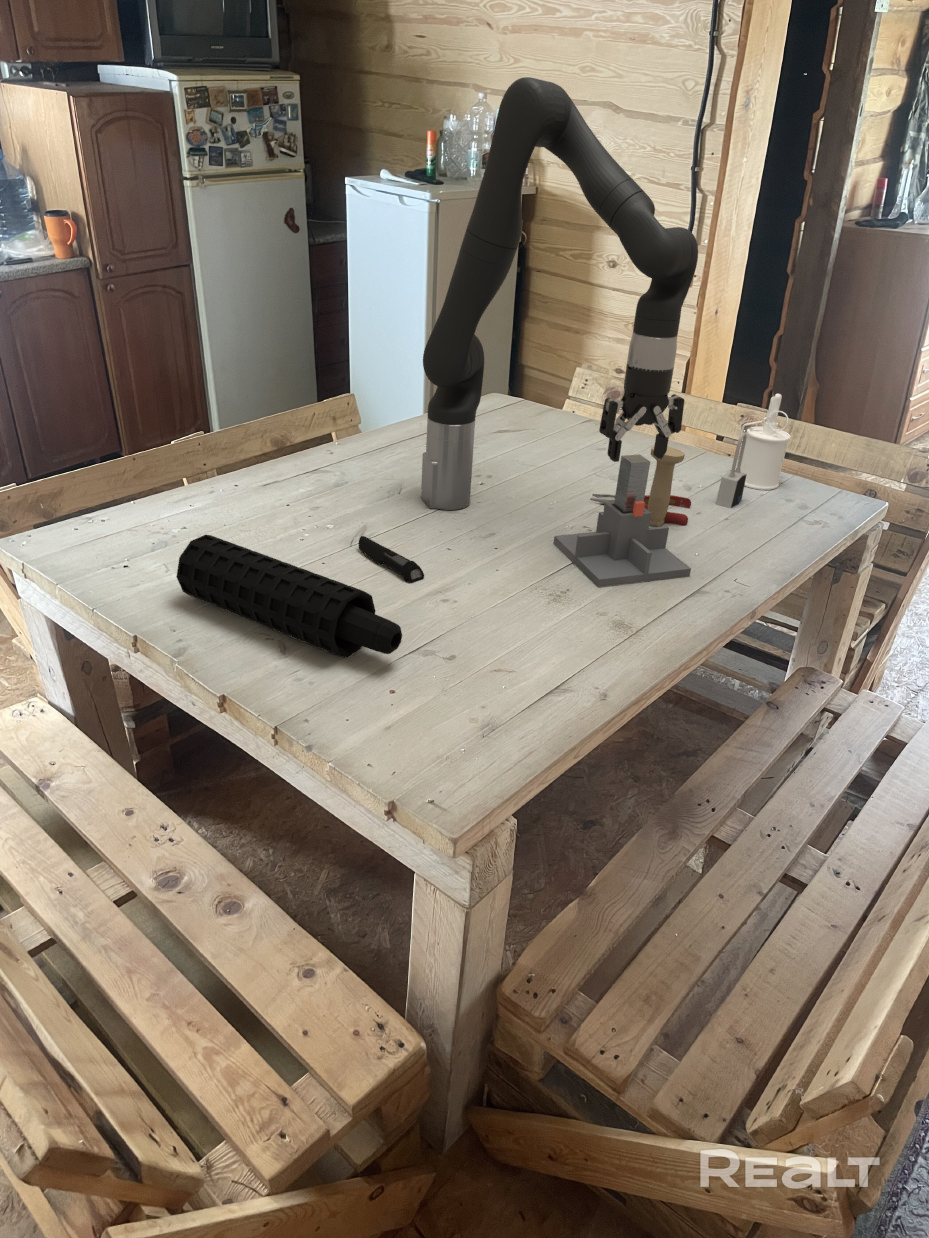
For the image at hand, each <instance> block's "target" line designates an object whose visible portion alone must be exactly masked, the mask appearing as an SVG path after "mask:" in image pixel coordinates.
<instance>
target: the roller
mask: <svg viewBox="0 0 929 1238" xmlns="http://www.w3.org/2000/svg"><path fill="white" fill-rule="evenodd" d="M176 579H177V582H178V584H179V586H180V589H181V590H182V592H183V593H184V594H186V595H188V596H190V597H193V598H195V599H198V600H199V601H202V602H205V603H208V604H209V605H213V606H214V607H217V608H220V609H222V610H224V611H227V612H230V613H232V614H234V615H236V616H238V617H242V618H245V619H247V620H249V621H251V622H254V623H257V624H260V625H262V626H263V627H265V628H268V629H271V630H274V631H276V632H279V633H280V634H283V635H285V636H288V637H291V638H292V639H295V640H298V641H300V642H303V643H305V644H308V645H310V646H312V647H315V648H318V649H320V650H323V651H325V652H326V653H327V652H328V653H330V654H332V655H334V656H338V657H342V658H345V659H347V658H350V657H351V656H353V655H354V654H355V653H357V652H358V651H359V650H362V648H366V649H369V650H372V651H374V652H377V653H381V654H385V655H391V654H392V653H394V652H395V651H396V650H397V649H398V648H399V646H400V645H401V643H402V639H403V632H402V628H401V626H400V624H398V623H396V622H394V621H392V620H390V619H387V618H386V617H383V616H380V615H378V614H376V608H375V607H376V606H375V604H374V599H373V595H371V594H370V593H368V592H366V591H364V590H363V589H360V588H357V587H354V586H352V585H348V584H345V583H344V582H340V581H338V580H335V579H331V578H329V577H327V576H324V575H321V574H319V573H315V572H313V571H311V570H308V569H305V568H302V567H299V566H295V565H293V564H291V563H288V562H286V561H282V560H279V559H277V558H274V557H272V556H268V555H266V554H263V553H260V552H258V551H255V550H251V549H250V548H248V547H245V546H242V545H237V544H236V543H233V542H231V541H228V540H225V539H222V538H219V537H217V536H214V535H210V534H204V535H201V536H199V537H197V538H194V539H192V540H190V542H189V543H188V544H187V546H186V548H185V549H183V552H182V553H181V554H180V556H179V557H178V564H177V572H176Z"/></svg>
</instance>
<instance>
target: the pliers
mask: <svg viewBox="0 0 929 1238" xmlns="http://www.w3.org/2000/svg"><path fill="white" fill-rule="evenodd" d="M591 495H592V497H590V498H589V500H590V501H594V502H598V503H600V504H605V503H607V502H614V501H615V495H616V494H602V493H601V494H599V493H592V494H591ZM649 496H650V494H649V495H648V494H647V495H646V494H645V497H644V502H645V506H644V508H646V509H647V510H648V501H649ZM669 506H672V507H678V508H684V509H690V508H691V506H692V501H691V499H690V498H689V497H684V496H679V495H672V494H671V495H670V501H669ZM664 519H665V520H664V523H665V524H668V525H669V524H670V525H676V526H687V524H688V522H689V517H688V516H687V515H686V514H684V513H679V512H671V511H667V513H666V516H665V518H664ZM664 523H663V524H664Z"/></svg>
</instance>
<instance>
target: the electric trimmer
mask: <svg viewBox="0 0 929 1238" xmlns="http://www.w3.org/2000/svg"><path fill="white" fill-rule="evenodd" d="M358 549H359V550H360V551H361V552H362V553H364V554H365V555H366V556H367V557H369V558H370V559H371V560H372V561H373V562H374V563H376V564H378V565H385V566H386V567H388V568H389V569H391V570H392V571H394V572H395V573H397V574H399V575H400V576H402V577H403V580H404V581H405V582H406V583H410V584H414V583H416V582H419V581H423V580H425V579H424V578H425V573H424V571H423V569H422V568H421V567H420V565H418V563H416V562H415V561H414V560H410V559H408V558H407V557H405V556H403V555H402V554H399V553H397V552H396V551H394V550H391V549H389V548H388V547H386V546H384V545H382V544H380V543H378V542H377V541H374V540H373V539H371V538H368V537H367V536H366V535H361V536H360V537H359V538H358Z"/></svg>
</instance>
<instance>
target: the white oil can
mask: <svg viewBox="0 0 929 1238" xmlns="http://www.w3.org/2000/svg"><path fill="white" fill-rule="evenodd" d="M782 397H783V396H782V394H781V393H776V394H775V395H774V396H772V397H771V398H770V401H769V404H768V405H769V406H768V411H767V415H766V416H765V417H763V418H762V420H758V421H752V422H747V423H744V424H742V427H741V431H740V435H741V434H742V433H745V432H744V431H745V427H746V426H750V427H748V428H747V430H746V435H747V439H746V444H745V449H744V453H743V458H742V462H741V467H740V469H741V472H742V473H746V474H747V476H746V480H745V485H744V487H747V488H750V489H754V490H761V491H771V490H775V489H777V488H778V487H779V486H780V482H779V481H780V477H781V472H782V468H783V464H784V462H785V461H784V459H785V455H786V452H787V448H788V443H789V441H790V440H791V437H792V436H791V434H790V433H788V432H787V431H785V429H786V428H787V427H788V425H789V420H790V419H789V416H788V414H787V413H786V412H784V411H782V410H780V407H781V404H782V403H781V402H782ZM779 413H782V414H783V415H784V416H785V418H786V423H785V425H784V427H782V428H778V425H779V423H778V421H777V419H778V415H779ZM761 423H763V426H752V425H756V424H761Z"/></svg>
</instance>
